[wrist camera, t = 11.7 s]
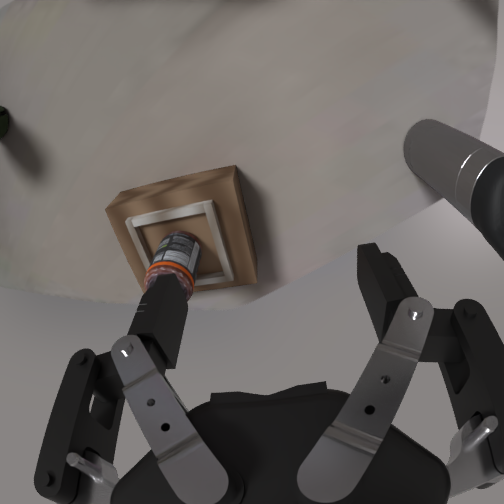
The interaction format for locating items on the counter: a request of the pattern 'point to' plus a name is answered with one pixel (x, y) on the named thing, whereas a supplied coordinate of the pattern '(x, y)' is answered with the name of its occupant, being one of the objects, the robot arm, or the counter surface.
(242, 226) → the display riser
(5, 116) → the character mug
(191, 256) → the supplement bottle
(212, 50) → the counter surface
